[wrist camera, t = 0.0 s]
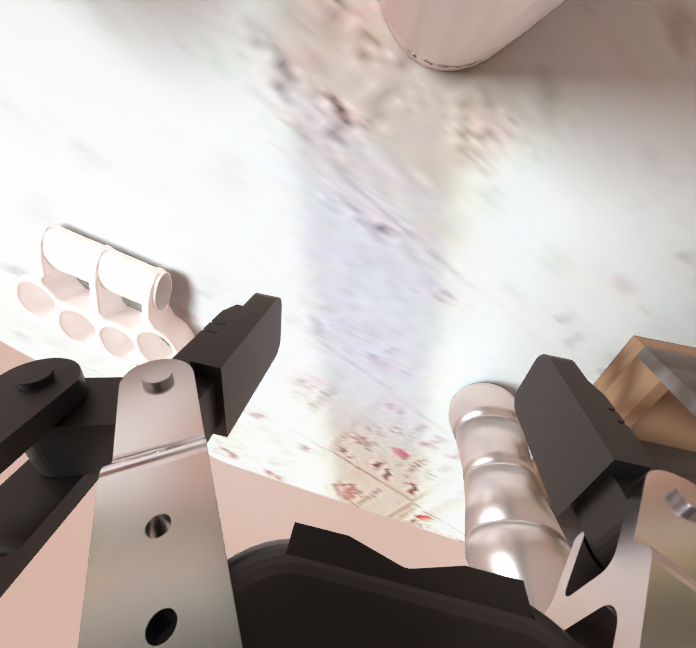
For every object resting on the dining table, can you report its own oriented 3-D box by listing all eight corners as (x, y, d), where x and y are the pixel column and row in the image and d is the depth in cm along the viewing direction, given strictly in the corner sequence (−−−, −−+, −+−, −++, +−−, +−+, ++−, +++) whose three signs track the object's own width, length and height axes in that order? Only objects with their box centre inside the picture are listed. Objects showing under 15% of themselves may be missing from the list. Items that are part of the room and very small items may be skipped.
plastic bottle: (515, 416, 33) (618, 707, 17) (449, 420, 35) (483, 684, 19) (514, 370, 30) (639, 672, 14) (442, 377, 32) (474, 649, 16)
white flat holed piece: (206, 279, 31) (193, 375, 39) (26, 202, 30) (52, 318, 38) (186, 295, 28) (176, 395, 36) (-14, 211, 27) (23, 334, 35)
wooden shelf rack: (633, 335, 26) (714, 413, 19) (811, 371, 25) (964, 467, 18) (521, 473, 38) (546, 553, 31) (640, 501, 37) (693, 589, 30)
